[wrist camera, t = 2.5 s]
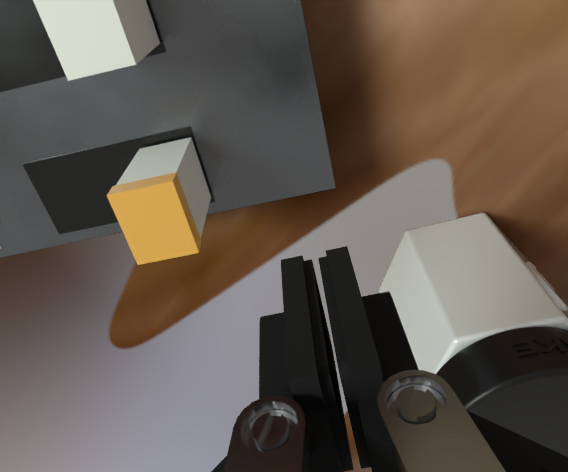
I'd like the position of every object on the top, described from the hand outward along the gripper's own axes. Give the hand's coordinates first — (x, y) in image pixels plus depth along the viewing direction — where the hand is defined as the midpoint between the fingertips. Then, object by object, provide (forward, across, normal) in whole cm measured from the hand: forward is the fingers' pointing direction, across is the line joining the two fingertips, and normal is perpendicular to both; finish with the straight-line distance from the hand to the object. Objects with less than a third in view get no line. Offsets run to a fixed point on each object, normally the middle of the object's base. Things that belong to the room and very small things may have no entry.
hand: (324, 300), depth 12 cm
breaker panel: (+15, +9, -3) cm, 18 cm away
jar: (+15, -7, +12) cm, 20 cm away
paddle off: (+11, +6, -7) cm, 14 cm away
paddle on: (+11, +6, 0) cm, 13 cm away
